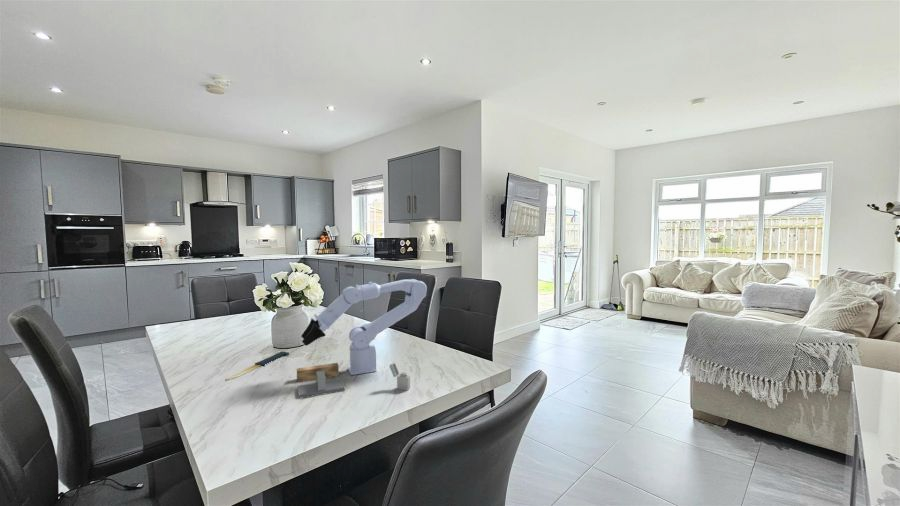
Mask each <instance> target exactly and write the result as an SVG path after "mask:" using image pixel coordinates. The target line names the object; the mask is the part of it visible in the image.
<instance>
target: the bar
mask: <svg viewBox="0 0 900 506" xmlns="http://www.w3.org/2000/svg"><path fill="white" fill-rule="evenodd" d="M339 366H340V365H339V363H338V362H333V363H326V364H319V365H318V364H317V365H311V366H306V367H299V368H298V367H297V368H296V382H297V381H300V382H304V381H303V380H307V381H311V380H310V379H313V380H316V372H318V371H324V374H325V377H326V378H330V377H329V376H332V377H337V376H336V375H338V376H339V375H340V373H339V372H340V371H339Z"/></svg>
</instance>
